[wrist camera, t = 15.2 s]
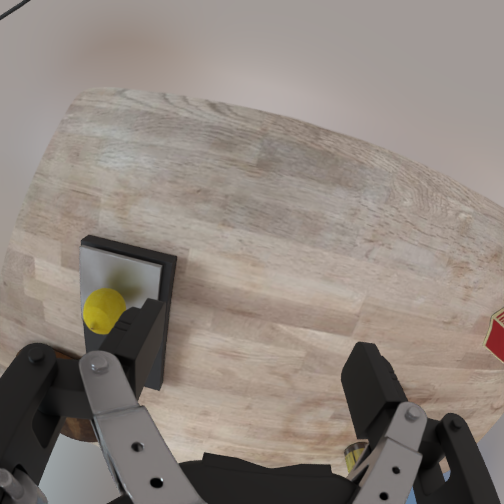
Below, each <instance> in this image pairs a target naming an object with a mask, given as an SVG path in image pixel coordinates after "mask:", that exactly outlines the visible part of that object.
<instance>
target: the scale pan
mask: <svg viewBox="0 0 504 504" xmlns="http://www.w3.org/2000/svg"><path fill="white" fill-rule="evenodd" d="M161 274H162V265H159V264H155V263H151V262H147V261H143V260H139V259H135V258H131V257H127V256H123V255H119V254H115V253H112V252H108V251H104V250H100V249H97V248H93V247H89V246H85V245H81V246H80V294H81V311H82V319H83V320H84V318H83V308H84V304H85V302H86V299H87V298H88V296H89V295H90V294H91V293H92V292H94V291H95V290H98V289H101V288H111V289H114V290H116V291H117V292H118V293H120V294H121V296H122V297H123V298H124V301H125V303H126V310H127V309H129V308H131V307H132V306H133V307H137V308H141V307H142V306H143V304H144V303H145V301H146V299H147V298H151V299H155V300H159V292H160V283H161Z"/></svg>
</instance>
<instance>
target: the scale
mask: <svg viewBox="0 0 504 504" xmlns="http://www.w3.org/2000/svg"><path fill="white" fill-rule="evenodd" d="M81 245H85V246H89V247H93V248H97V249H100V250H104V251H108V252H112V253H115V254H119V255H123V256H127V257H131V258H135V259H139V260H143V261H147V262H151V263H155V264H159V265H162V274H161V283H160V292H159V301H163V302H166V312H165V321H164V331H163V338H162V342H161V346H160V348H159V351H158V353H157V355H156V358H155V360H154V363H153V365H152V368H151V370H150V372H149V375H148V377H147V380H146V382H145V385H144V387H148V388H151V389H155V390H158V391H160V389H161V386H162V383H163V373H164V361H165V350H166V340H167V330H168V321H169V312H170V304H171V296H172V288H173V281H174V273H175V266H176V260H177V256H173V255H168V254H164V253H160V252H156V251H152V250H148V249H144V248H140V247H135V246H131V245H127V244H123V243H119V242H115V241H111V240H107V239H103V238H99V237H95V236H91V235H88V236H86V237H85V238H83V239H82V240H81ZM83 325H84V336H85V346H86V353H88V352H91V351H97V350H98V349H99V347H100V346H101V344H102V343H103V341H104V340H105V338H106V337H107V335H108V334H97V333H95V332H93V331H92V330H90V329H89V328H88V326H87V325H86V323H85V322H84V320H83Z"/></svg>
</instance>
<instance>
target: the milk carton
mask: <svg viewBox="0 0 504 504" xmlns="http://www.w3.org/2000/svg"><path fill="white" fill-rule="evenodd" d="M483 346H484V347H485V348H486V349H488V350H489V351H490V352H491V353H492V354H493V355H494V356H495V357H496V358H497V359H498V360H500V361H501V362H502V363H503V364H504V308H502V309H501V310H500V311H498V312H497V313H495V314H494V315H493V316H492V317H491V323H490V328H489V330H488V333H487V335H486V338H485V340H484V343H483Z"/></svg>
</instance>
